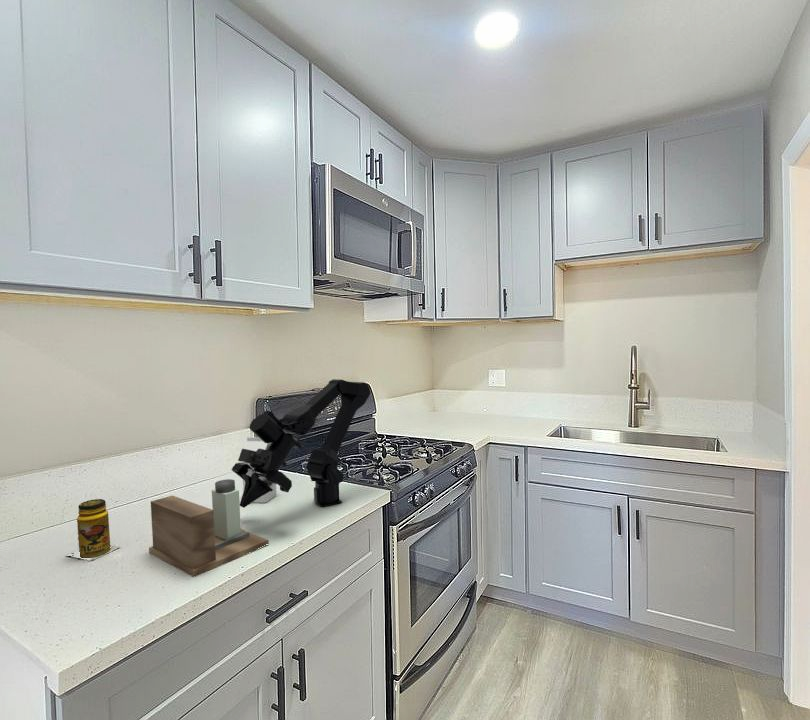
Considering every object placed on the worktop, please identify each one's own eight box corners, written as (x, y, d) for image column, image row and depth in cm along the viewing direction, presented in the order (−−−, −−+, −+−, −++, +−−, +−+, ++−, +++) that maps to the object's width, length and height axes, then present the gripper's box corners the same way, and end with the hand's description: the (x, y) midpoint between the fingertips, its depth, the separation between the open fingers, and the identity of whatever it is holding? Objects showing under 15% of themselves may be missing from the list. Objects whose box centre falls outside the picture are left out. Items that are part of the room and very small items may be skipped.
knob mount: (221, 526, 123) (219, 481, 123) (268, 544, 111) (266, 494, 110) (149, 552, 109) (146, 501, 108) (193, 576, 96) (190, 519, 96)
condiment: (90, 561, 105) (87, 508, 104) (65, 556, 108) (61, 505, 108) (120, 548, 112) (117, 498, 111) (96, 543, 115) (93, 495, 114)
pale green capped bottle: (228, 529, 117) (226, 477, 116) (242, 535, 113) (240, 481, 113) (212, 535, 113) (209, 482, 113) (226, 541, 110) (223, 486, 109)
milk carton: (265, 503, 140) (262, 440, 139) (243, 502, 141) (240, 439, 140) (276, 495, 147) (274, 435, 146) (255, 494, 148) (253, 435, 147)
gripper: (236, 432, 126) (198, 483, 117) (280, 439, 114) (242, 496, 106) (262, 455, 132) (228, 505, 124) (306, 464, 121) (272, 520, 112)
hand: (241, 506), depth 116 cm, fingers closed
